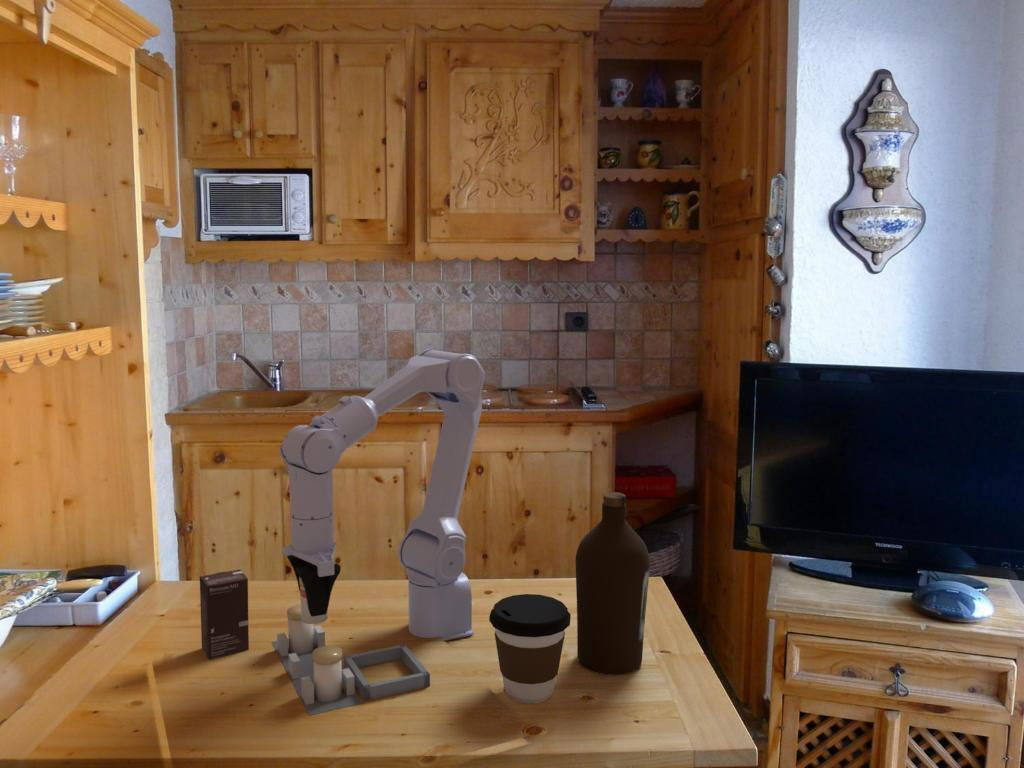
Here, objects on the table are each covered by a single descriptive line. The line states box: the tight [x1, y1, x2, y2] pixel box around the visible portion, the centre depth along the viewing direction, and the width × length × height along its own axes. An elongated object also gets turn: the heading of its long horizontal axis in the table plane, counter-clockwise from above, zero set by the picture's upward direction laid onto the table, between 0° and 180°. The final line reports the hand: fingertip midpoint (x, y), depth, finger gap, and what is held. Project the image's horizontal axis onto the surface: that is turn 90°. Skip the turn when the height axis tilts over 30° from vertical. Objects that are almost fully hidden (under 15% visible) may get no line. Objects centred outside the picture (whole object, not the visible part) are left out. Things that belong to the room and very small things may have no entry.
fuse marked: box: [299, 577, 329, 625], centre depth 119 cm, size 4×4×6 cm
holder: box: [271, 624, 364, 717], centre depth 121 cm, size 7×23×3 cm, turn 27°
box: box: [199, 568, 250, 661], centre depth 126 cm, size 6×4×12 cm
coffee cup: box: [488, 593, 572, 705], centre depth 116 cm, size 11×11×12 cm
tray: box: [343, 643, 431, 702], centre depth 119 cm, size 9×10×2 cm
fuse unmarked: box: [312, 645, 343, 702], centre depth 114 cm, size 4×4×6 cm
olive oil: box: [575, 491, 651, 676], centre depth 125 cm, size 11×11×25 cm
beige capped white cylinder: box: [286, 604, 314, 654], centre depth 127 cm, size 4×4×6 cm
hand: (314, 608), depth 120 cm, fingers closed on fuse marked, 4 cm apart
